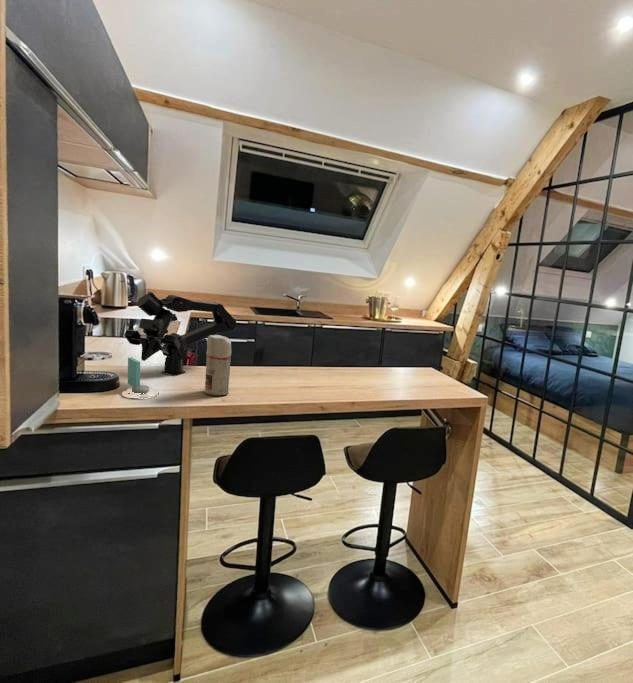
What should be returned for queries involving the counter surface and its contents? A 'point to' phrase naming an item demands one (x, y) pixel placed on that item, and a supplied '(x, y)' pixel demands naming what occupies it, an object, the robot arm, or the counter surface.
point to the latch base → (149, 393)
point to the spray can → (218, 365)
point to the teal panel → (135, 376)
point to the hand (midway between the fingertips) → (142, 360)
